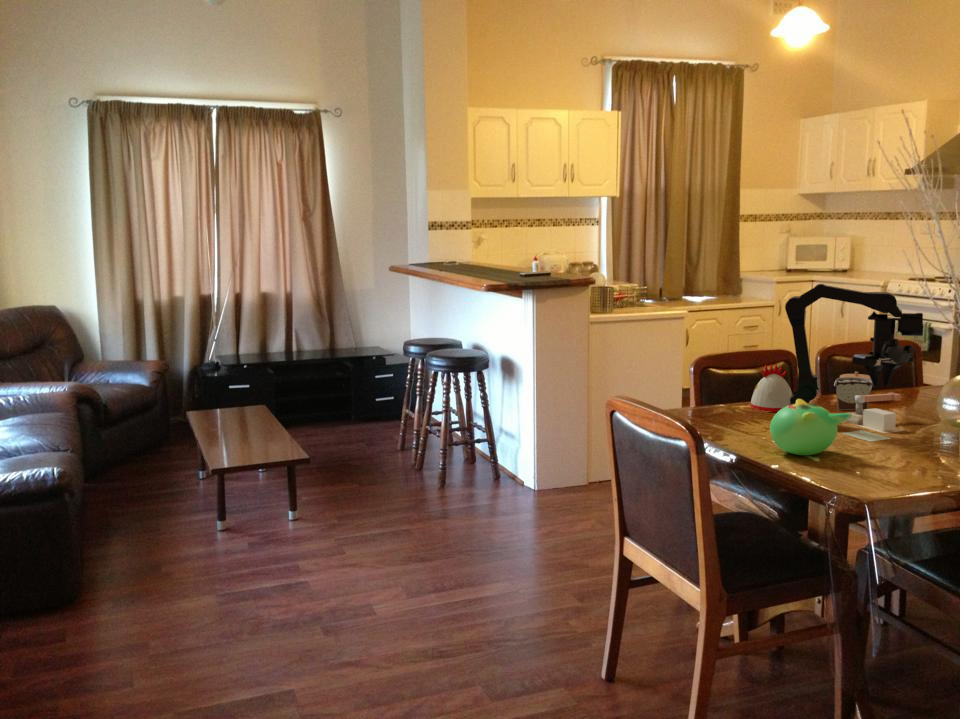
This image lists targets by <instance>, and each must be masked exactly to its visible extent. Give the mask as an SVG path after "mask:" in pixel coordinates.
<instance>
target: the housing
mask: <svg viewBox="0 0 964 719" xmlns="http://www.w3.org/2000/svg"><path fill="white" fill-rule="evenodd" d="M863 412H864V410H863V403H857V402H856V410H855V411H854V412H853V411H852V412H851V411H850V413H851V414H852V416H851V417H850V418H849V419H847V420H845V421H844V422H846V423H849V424H851V425H852V424H853V425H856V426H857V427H860V428H862V429H863V428H864V429H867V430H871V431H875V432H878V433H881V434H890V433H897V432H898V433H899V432H903V431H905V429H901V428H897V427H895V430H888V431H881V430H877V429H874V428H870V427H866V426H863Z"/></svg>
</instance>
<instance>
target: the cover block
mask: <svg viewBox="0 0 964 719" xmlns="http://www.w3.org/2000/svg"><path fill="white" fill-rule="evenodd" d="M896 418H897V413H896V412H894V411H893V412H892V411H888V410H885V409H881V408H877V407H876V408H875V407H874V408H872V407H871V408H867V409H864V410H863V424H862V425H863V426H866V427H870V428H874V429H877V430H881V431H888V430H895V428H896V421H897V419H896Z"/></svg>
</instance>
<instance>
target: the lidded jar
mask: <svg viewBox="0 0 964 719" xmlns="http://www.w3.org/2000/svg"><path fill="white" fill-rule="evenodd" d="M843 377H856V378H865V379H870V380H871V378H870V376H869V374H862V373H861V374H860V373H859V371H854V373H843V374H840V375H839V378H843ZM872 387H873V386H871V390H870V392H871V391H872Z"/></svg>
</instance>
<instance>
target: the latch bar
mask: <svg viewBox="0 0 964 719" xmlns="http://www.w3.org/2000/svg"><path fill="white" fill-rule="evenodd" d="M900 400H901V394H899V393H896V392H887V393H879V394H877V393H876V394H870V395H856V396H855V402H857V403H864V402H868V403H869V402H873V403H874V402H884V401H885V402H886V401H900Z"/></svg>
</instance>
